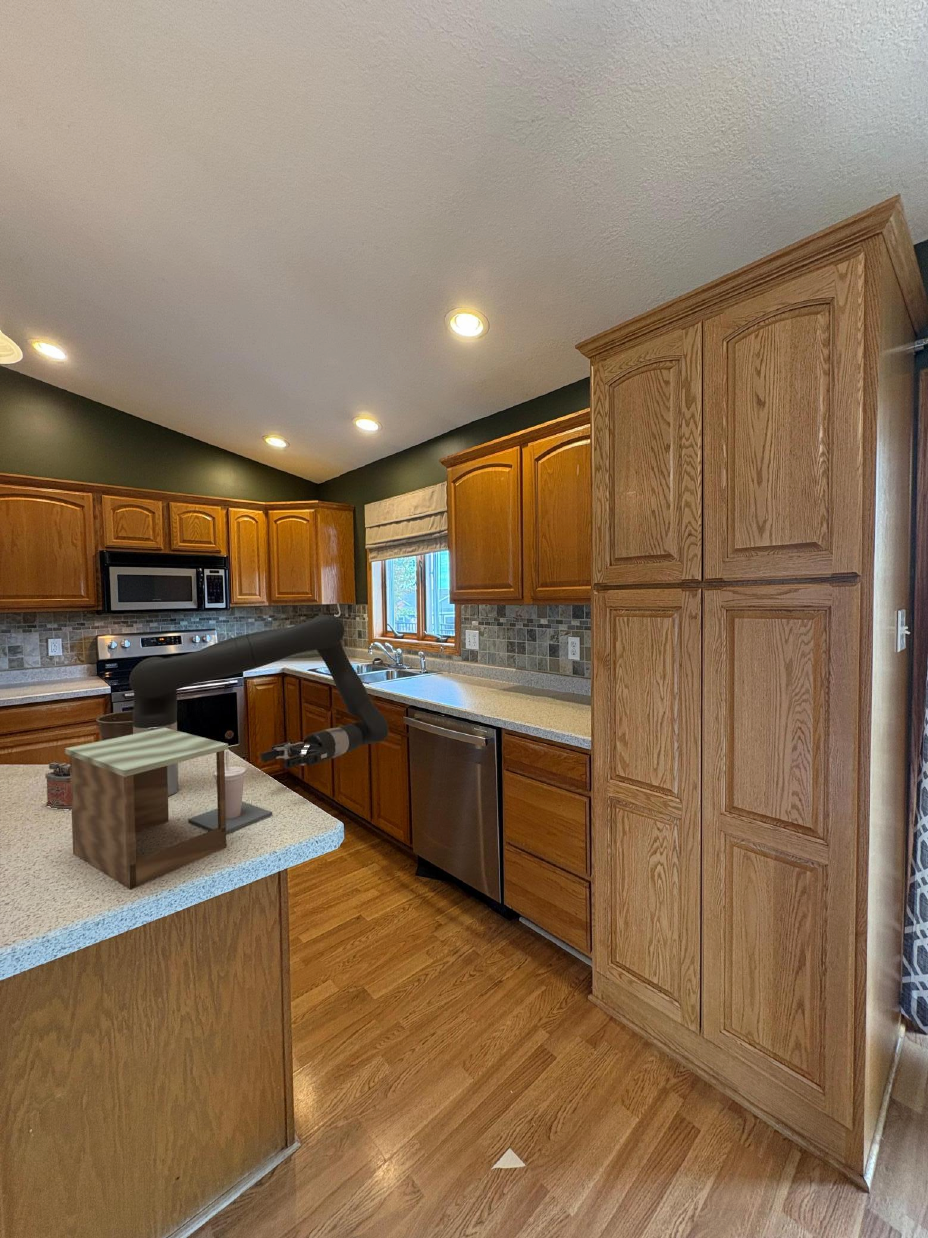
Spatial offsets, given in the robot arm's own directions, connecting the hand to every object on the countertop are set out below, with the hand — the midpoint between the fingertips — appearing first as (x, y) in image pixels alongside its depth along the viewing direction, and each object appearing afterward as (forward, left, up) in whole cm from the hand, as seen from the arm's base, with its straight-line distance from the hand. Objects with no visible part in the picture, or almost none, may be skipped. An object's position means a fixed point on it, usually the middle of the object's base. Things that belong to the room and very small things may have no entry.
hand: (273, 761), depth 121 cm
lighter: (-39, -28, -10) cm, 49 cm away
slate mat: (0, -11, -10) cm, 15 cm away
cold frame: (0, -27, -10) cm, 29 cm away
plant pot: (-49, -8, -10) cm, 51 cm away
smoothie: (0, -11, -9) cm, 14 cm away
